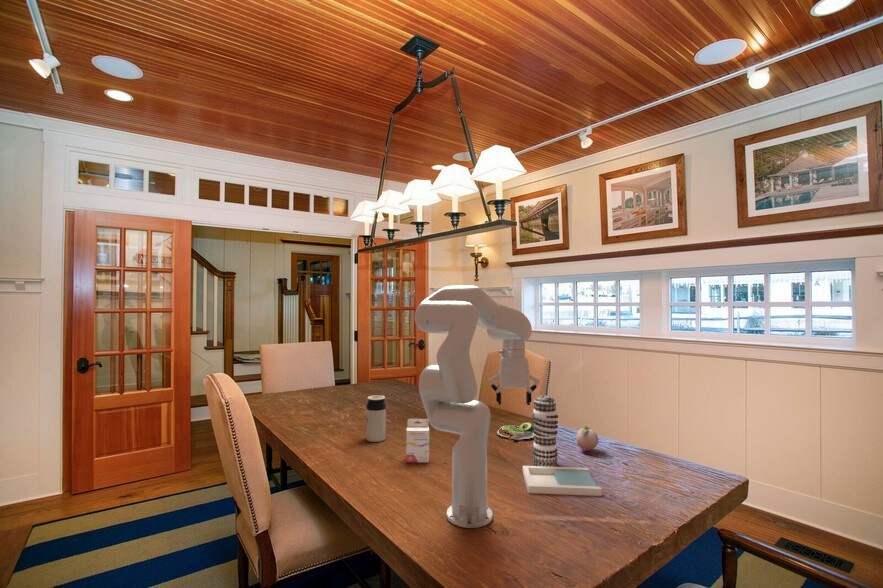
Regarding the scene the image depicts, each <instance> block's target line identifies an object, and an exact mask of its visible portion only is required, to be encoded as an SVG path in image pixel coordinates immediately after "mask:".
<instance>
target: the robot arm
mask: <svg viewBox="0 0 883 588" xmlns="http://www.w3.org/2000/svg"><path fill="white" fill-rule="evenodd" d="M414 322H415V325H416V327H417V329H419V331H421V332H423V333H427V334H443V335H444V334H447V336H446V337H445V339H444V341H442V343H441V345H440V346H439V347H438V350H437V352H436V362H437V364H431V365H427V366H425V367H424V368H423V369H422V371H421V373H420V375H419V379H418V391H419V392H418V393H419V396H420V399H421V401H422V405H423V408H424V410H425V414H426V417H427V419H428V420H429V425H430V426H432V428H434V430H436V431H442V432H447V433H452V434H456V435H459V437H460V438H459V439H458V440H457V441H456V443H455V444H454V445H453V447H452V453H451V486H452V487H451V505H450V506H449V507H448V508H447V510H446V519H447V520H448V522H450V523H451V524H453V525H455V526H457V527H461V528H466V529H476V528H481V527H482V528H483V527H484V526H485V527H486V526H487V525H488V524H490V523H491V522H492V521H493V519H494V517H493V516H494V515H493V514H494V513H493V510H492V509H491V508H490V507H489V506H488V439H489V430H490V424H491V417H492V416H491V415H492V414H491V410H490V408H489V406H488V404H486V403H484V402H483V401H481V400H476V397H477V395H478V386H477V380H476V376H475V373H474V368H473V365H472V360H471V356H470V355H471V354H470V350H471V349H470V348H471V344H472V341H473V338H474V335H475V332H476V328H477V325H478V326H479V327H481V328H484V329H486V332H487V335H488V337H489V338H490V339H491V340H495V341H502V349H500V350H498V351H497V354H498V355H501V357H500V359H499V360H500V361H499V366H498V374H495V375H494V376H492V377H490V378H488V379H487V380H488V383H489V385H490V386H491V389H493V391H494V392H495V394H496V395H495V396H496V397H495V401H496V403H497V404H498V405H499V406H501V405H502V392H501V391H502V390H503V389H525V390H526V393H525V401H526V402H525V403H526V405H527V406H531V403H532V394H533V392H534V391H535V390H536V389H537V388H538V385H539V383H540V380H539V379H538V378H536V377H534V376H533V375H530V369H529V361H528V358H527V357H526V353H525V352H526V350H525V349H526V341H528V340H529V339H530V338H531V336H532V334H533V333H532V332H533V331H532V330H533V329H532V324H531V321H530V320H529V318H528V317H527V316H526V314H525V313H523V312H522V311H519V310H517V309H515V308H512V307H509V306H506V305H504V304H500V303H497V302H496V301H495V300H494V299H493V298H491V296H490V295H489V294H487V292H486V291H484V289H482V288H481V287H479V286H476V285H447V286H444V287H442V288H440V289H438V290H437V291H436V292H434V293H432V294H431V295H429V296H428V297H426V298H424V300H422V301H421V302H420V303H419V304H418V306H417V308H416V309H415V312H414ZM496 380H498V385H495V384H494V382H495V381H496ZM530 381H533V384H532V385H531V386H530V383H531V382H530Z"/></svg>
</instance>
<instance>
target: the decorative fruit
mask: <svg viewBox="0 0 883 588" xmlns="http://www.w3.org/2000/svg"><path fill="white" fill-rule="evenodd" d="M575 436H576V437H575V440H576V443H577V446H578V447H579V448H580V449H581V450H582V451H584V452H590V451H592V450H593V449H595V448H596V447H597V446H598V444H599V437H598V434H597V432H596V431H595V430H593V429H592V428H590V427H588V426H587V425H585V427H583V428H582V427H581V428H580V429H578V431H577V433H576V435H575Z"/></svg>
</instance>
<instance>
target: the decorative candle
mask: <svg viewBox="0 0 883 588" xmlns="http://www.w3.org/2000/svg"><path fill="white" fill-rule="evenodd" d="M532 401H533V407H534V408H533V413H532V414H531V417H532V418H531V421H532V425H533V426H532V427H533V430H532V431H533V435H534V437H533V446H532V450H533V451H532V459H533V460H532V464H533V466H547V467H558V460H559V459H558V448H557V447H558V446H557V445H558V444H557V437H558V431H557V429H558V428H559V426H558V425H557V424H559V422H558V420H557V419H558V418H559V415H558V412H557V403H558V402H557V400H555V398H554V397H553V396H551V395H546V394H544V395H543V394H542V395H537V396H536V397H535V399H532Z"/></svg>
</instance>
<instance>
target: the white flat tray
mask: <svg viewBox="0 0 883 588" xmlns="http://www.w3.org/2000/svg"><path fill="white" fill-rule="evenodd" d="M554 470H559V471H587V472H589V473H590V469H589V467H575V466H574V467H573V466H572V467H571V466H556V467H547V466H535V465H522V474H523V478H524V482H525V485H526V489H527V493H528V494H545V495H548V494H549V495H570V496H571V495H572V496H594V497H595V496H596V497H598V496H600V497H602V496H603V488H602V487H601V486H598V485H597V486H598V487H597V486H570V485H558V483H557V481H556V478H555V476H554Z"/></svg>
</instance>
